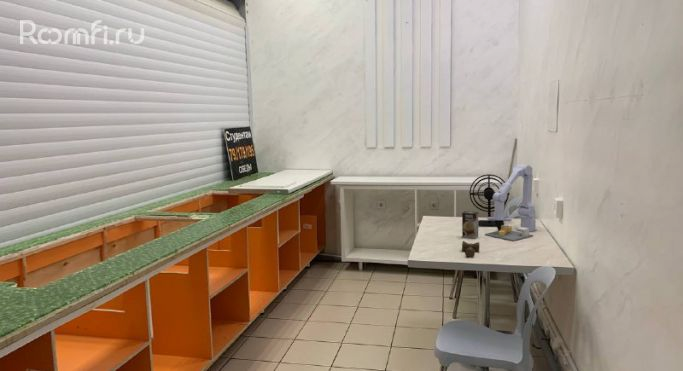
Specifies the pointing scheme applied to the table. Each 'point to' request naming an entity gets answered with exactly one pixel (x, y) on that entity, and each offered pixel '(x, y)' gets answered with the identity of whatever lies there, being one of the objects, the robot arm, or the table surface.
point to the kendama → (470, 248)
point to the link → (505, 230)
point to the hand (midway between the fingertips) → (499, 232)
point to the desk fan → (488, 195)
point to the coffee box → (470, 224)
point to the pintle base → (512, 234)
